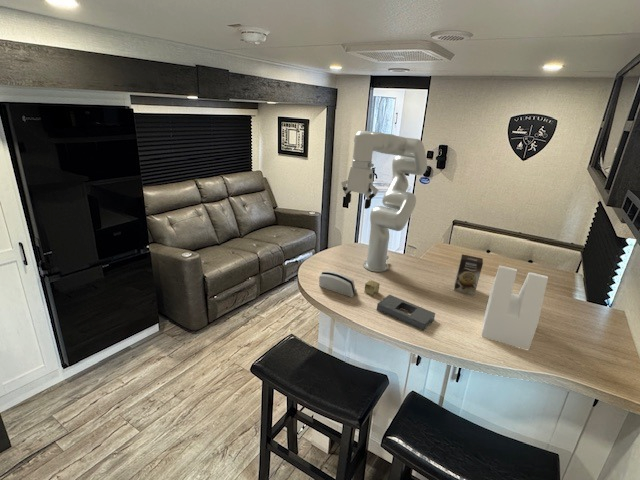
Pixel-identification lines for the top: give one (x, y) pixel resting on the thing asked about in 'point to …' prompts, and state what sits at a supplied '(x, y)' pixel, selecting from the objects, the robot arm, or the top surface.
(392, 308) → the grey square hole block
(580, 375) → the top surface
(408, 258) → the top surface
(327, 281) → the hinge
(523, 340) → the white slotted block
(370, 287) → the brass cube
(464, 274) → the coffee box
